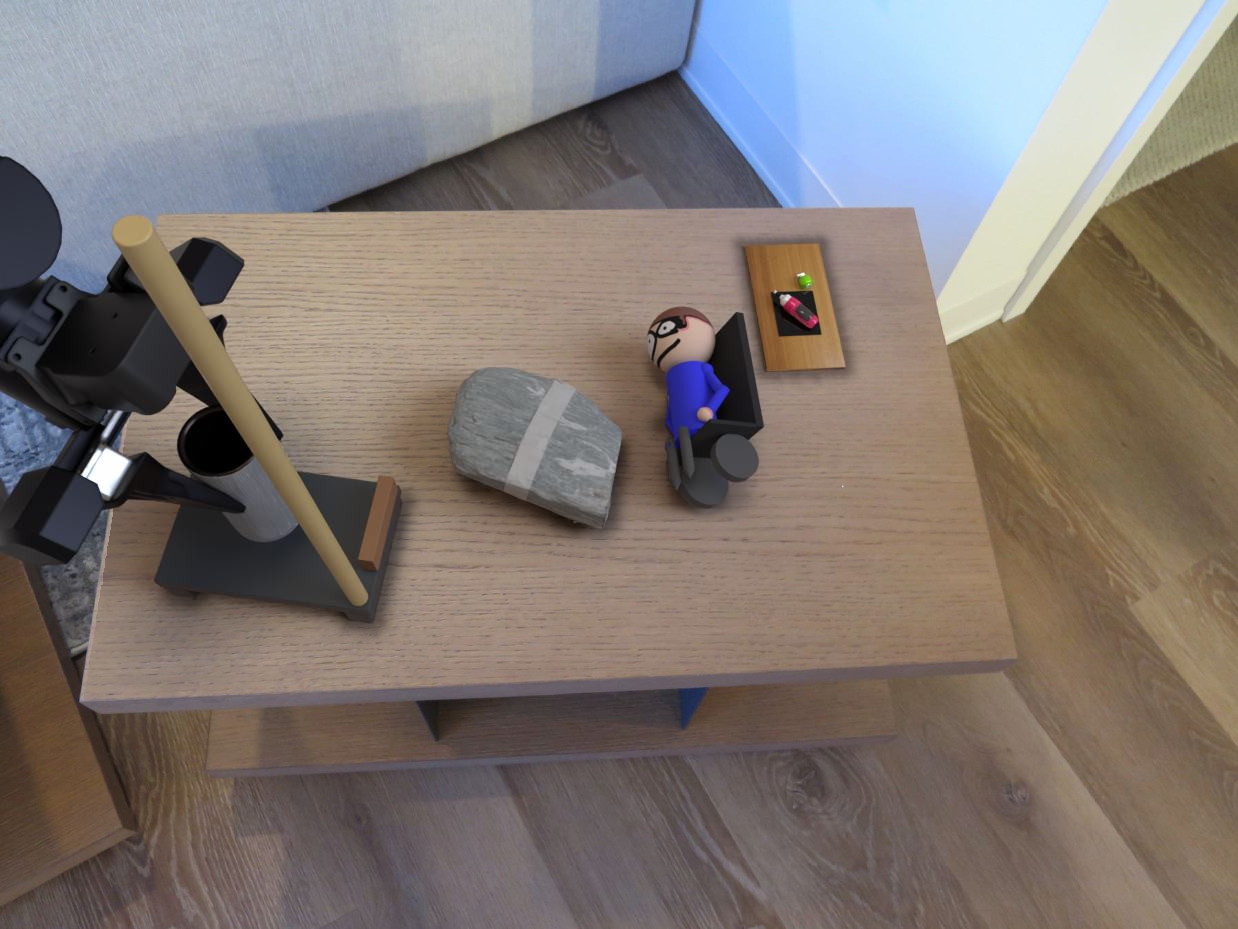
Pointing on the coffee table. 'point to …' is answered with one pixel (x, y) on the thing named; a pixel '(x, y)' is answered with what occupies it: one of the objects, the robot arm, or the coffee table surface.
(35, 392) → the robot arm
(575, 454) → the decorative stone
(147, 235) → the stand with wooden pole
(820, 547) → the coffee table surface
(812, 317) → the board
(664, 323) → the character figurine
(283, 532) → the planter
